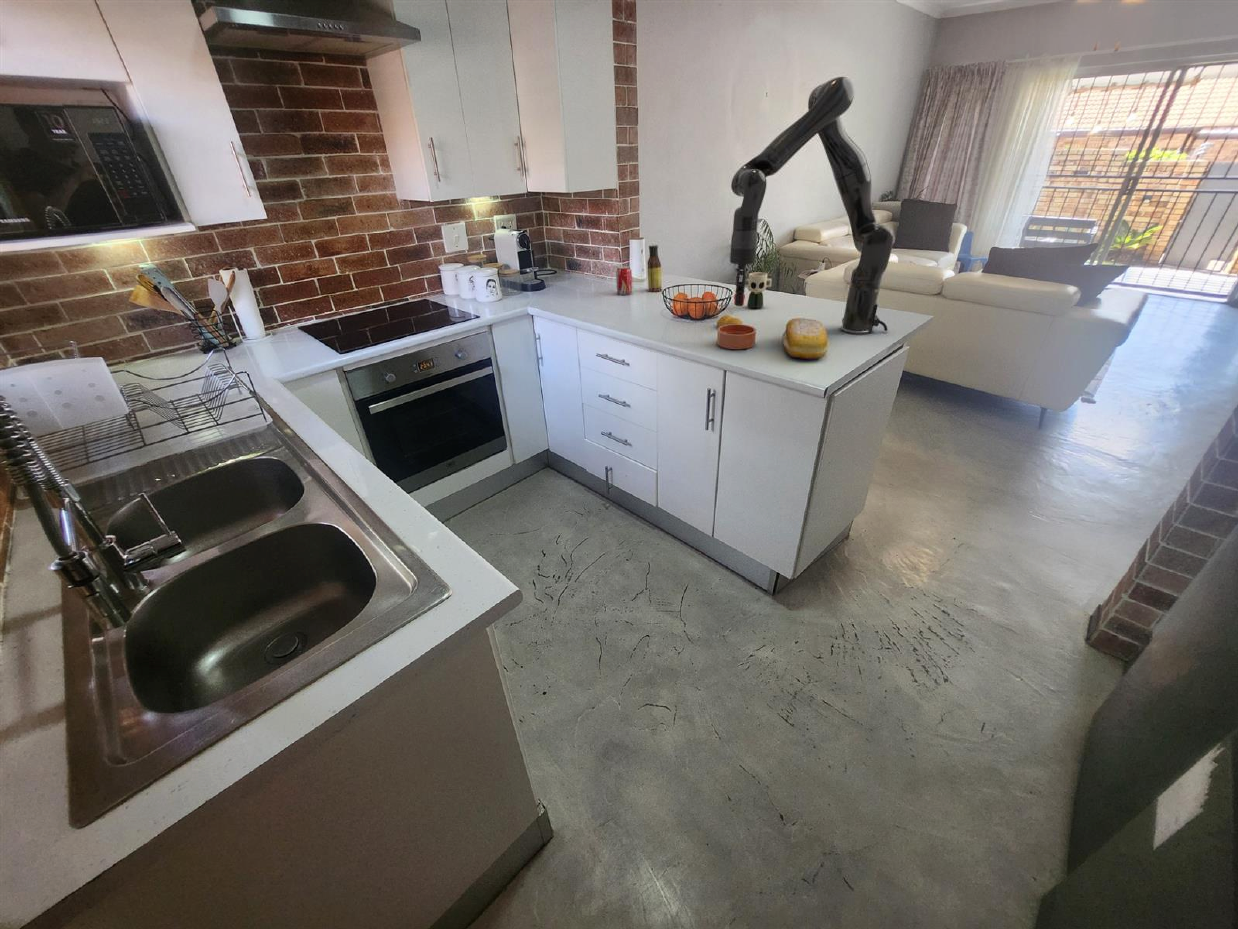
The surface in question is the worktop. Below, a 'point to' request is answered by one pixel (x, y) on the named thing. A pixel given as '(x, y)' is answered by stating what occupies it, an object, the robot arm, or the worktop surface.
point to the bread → (805, 338)
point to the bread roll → (728, 321)
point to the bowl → (736, 336)
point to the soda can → (624, 280)
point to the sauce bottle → (654, 270)
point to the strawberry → (735, 298)
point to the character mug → (757, 288)
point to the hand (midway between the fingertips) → (739, 303)
